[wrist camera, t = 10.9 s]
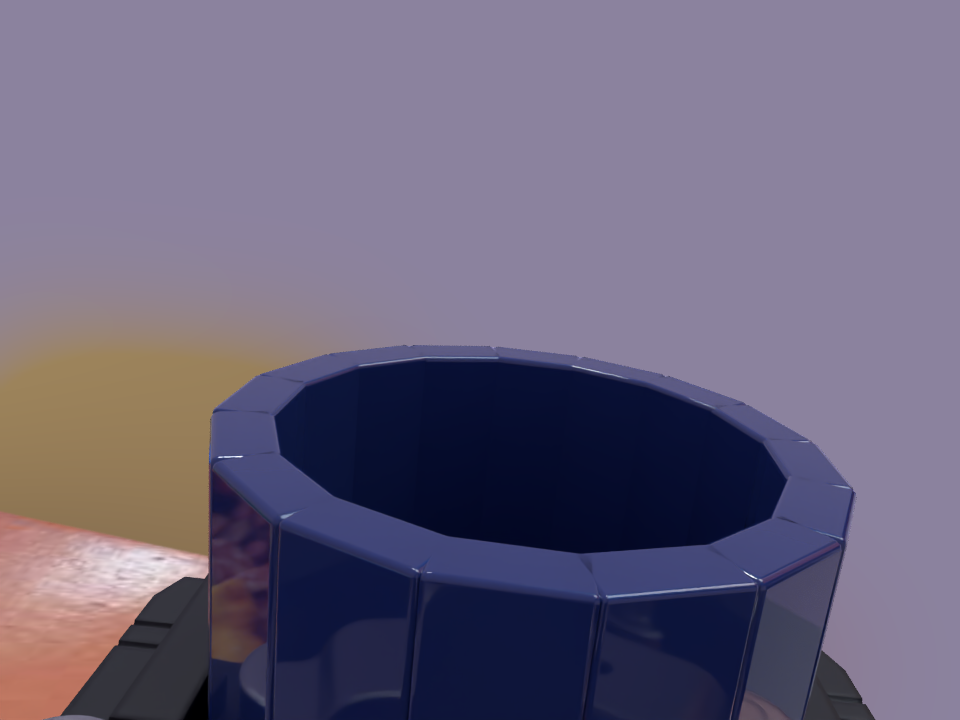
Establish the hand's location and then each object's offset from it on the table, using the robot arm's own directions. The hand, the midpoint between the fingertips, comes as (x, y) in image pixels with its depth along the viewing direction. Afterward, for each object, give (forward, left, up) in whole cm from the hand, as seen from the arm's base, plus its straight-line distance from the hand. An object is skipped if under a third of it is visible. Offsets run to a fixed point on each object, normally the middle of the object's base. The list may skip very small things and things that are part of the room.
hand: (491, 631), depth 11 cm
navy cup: (-2, +2, -6) cm, 6 cm away
